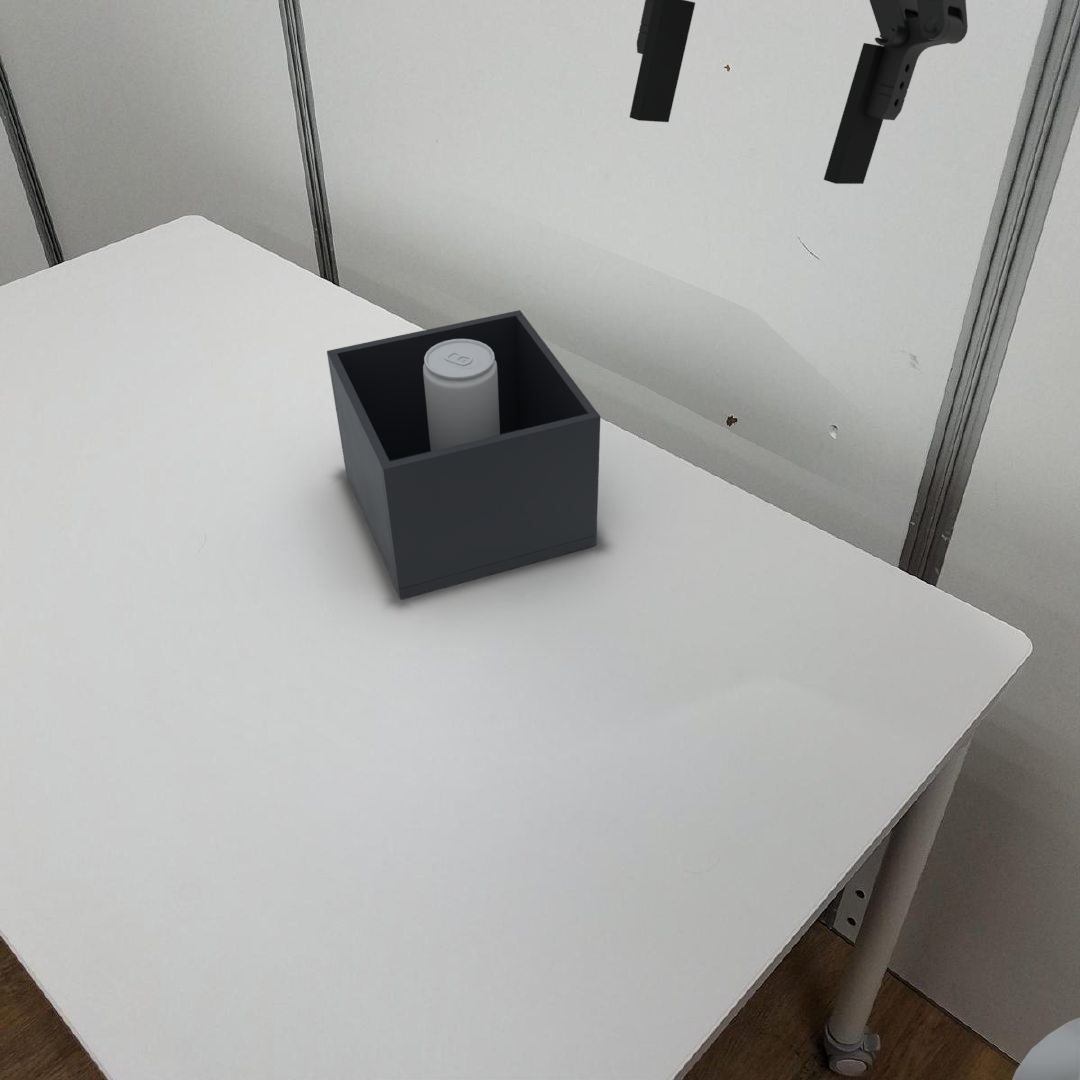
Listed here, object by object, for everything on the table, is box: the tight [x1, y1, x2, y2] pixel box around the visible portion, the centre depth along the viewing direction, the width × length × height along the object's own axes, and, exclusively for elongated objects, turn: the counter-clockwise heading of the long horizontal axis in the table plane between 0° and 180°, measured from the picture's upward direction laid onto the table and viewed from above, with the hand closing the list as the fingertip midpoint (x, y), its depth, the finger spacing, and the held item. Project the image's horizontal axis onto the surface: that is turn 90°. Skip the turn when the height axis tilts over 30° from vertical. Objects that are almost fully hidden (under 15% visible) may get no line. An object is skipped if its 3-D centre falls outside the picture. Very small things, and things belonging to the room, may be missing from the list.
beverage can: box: [423, 339, 500, 452], centre depth 76 cm, size 5×5×12 cm
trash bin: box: [326, 309, 601, 600], centre depth 77 cm, size 14×14×11 cm
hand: (739, 149), depth 61 cm, fingers open, 13 cm apart
